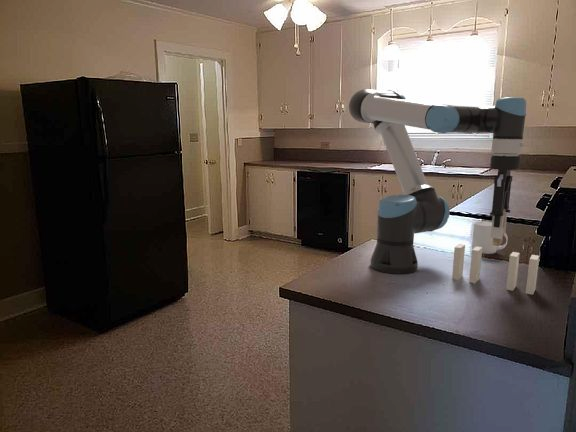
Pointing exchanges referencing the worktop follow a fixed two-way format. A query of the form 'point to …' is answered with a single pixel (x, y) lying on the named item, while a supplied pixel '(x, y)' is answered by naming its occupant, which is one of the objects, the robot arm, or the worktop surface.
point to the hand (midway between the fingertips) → (497, 236)
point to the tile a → (458, 261)
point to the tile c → (512, 271)
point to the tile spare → (499, 241)
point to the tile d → (532, 274)
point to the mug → (485, 237)
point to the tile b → (475, 264)
